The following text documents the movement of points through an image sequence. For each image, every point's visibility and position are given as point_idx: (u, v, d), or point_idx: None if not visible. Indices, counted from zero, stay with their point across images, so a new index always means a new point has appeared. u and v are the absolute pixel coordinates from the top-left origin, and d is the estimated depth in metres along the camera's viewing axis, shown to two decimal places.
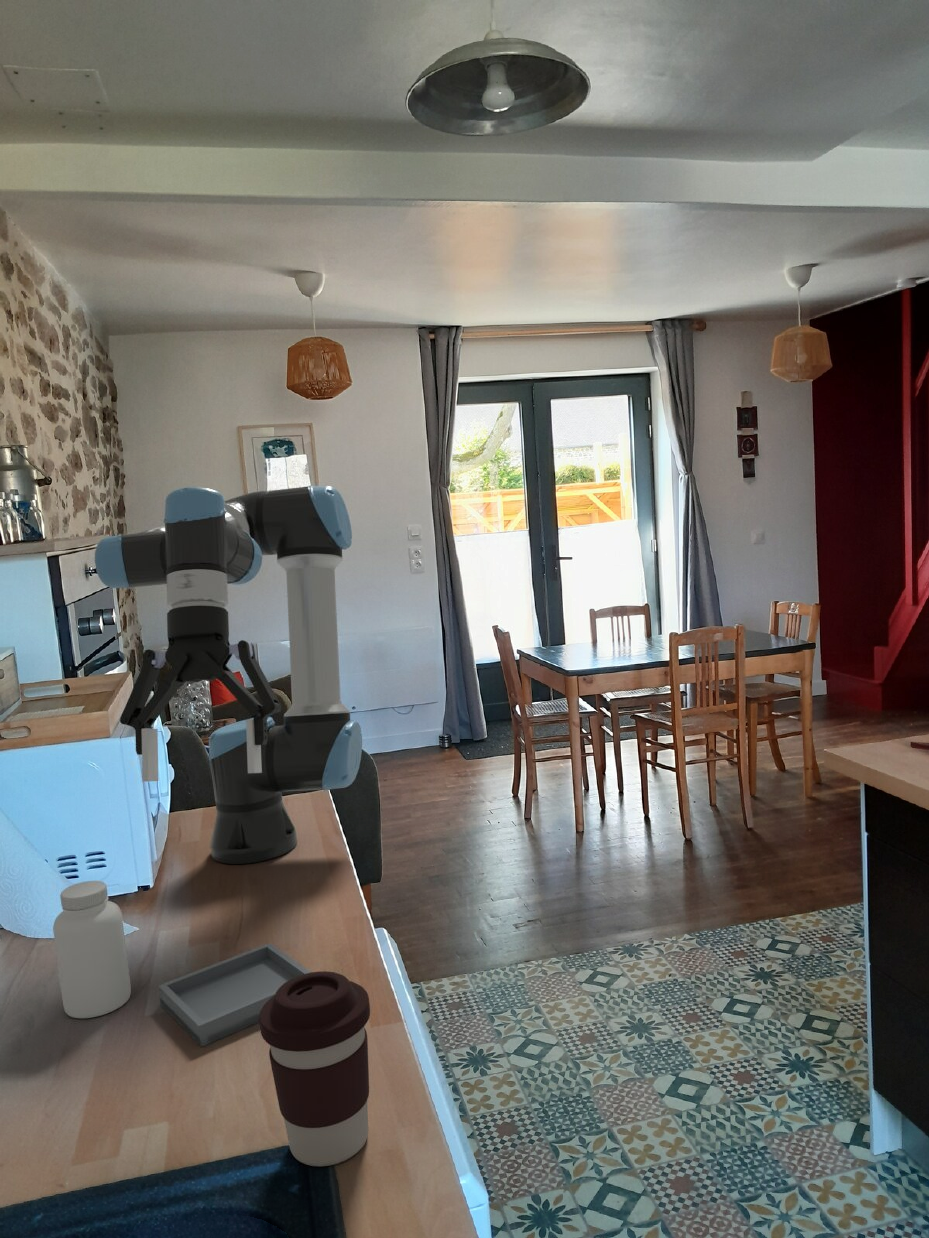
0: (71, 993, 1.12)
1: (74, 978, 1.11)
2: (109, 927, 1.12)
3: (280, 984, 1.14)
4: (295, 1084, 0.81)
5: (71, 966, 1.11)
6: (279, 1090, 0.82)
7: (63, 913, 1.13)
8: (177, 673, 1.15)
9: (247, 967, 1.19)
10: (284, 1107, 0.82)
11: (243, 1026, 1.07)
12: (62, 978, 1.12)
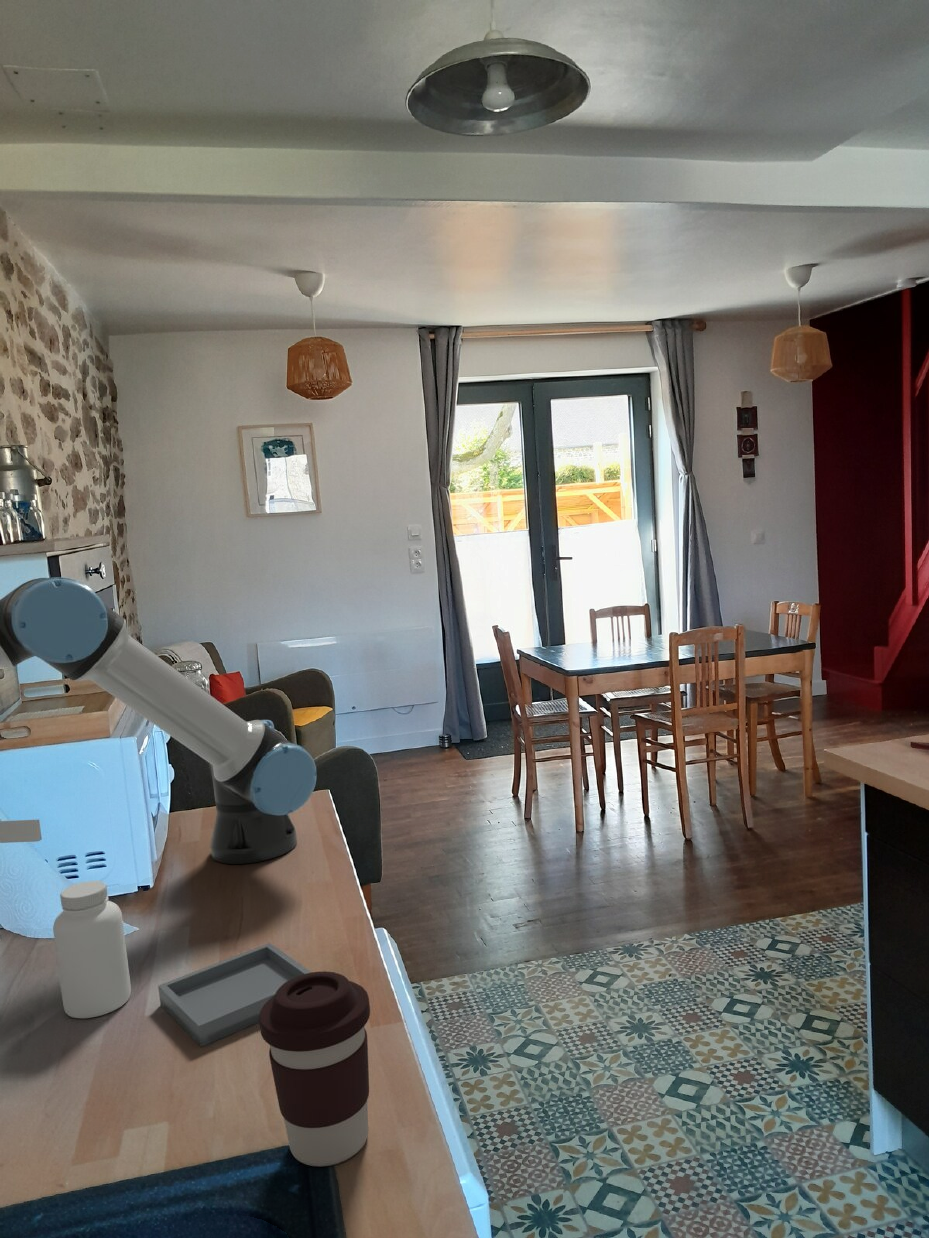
0: (71, 993, 1.12)
1: (74, 978, 1.11)
2: (109, 927, 1.12)
3: (280, 984, 1.14)
4: (295, 1084, 0.81)
5: (71, 966, 1.11)
6: (279, 1090, 0.82)
7: (63, 913, 1.13)
8: None
9: (247, 967, 1.19)
10: (284, 1107, 0.82)
11: (243, 1026, 1.07)
12: (62, 978, 1.12)
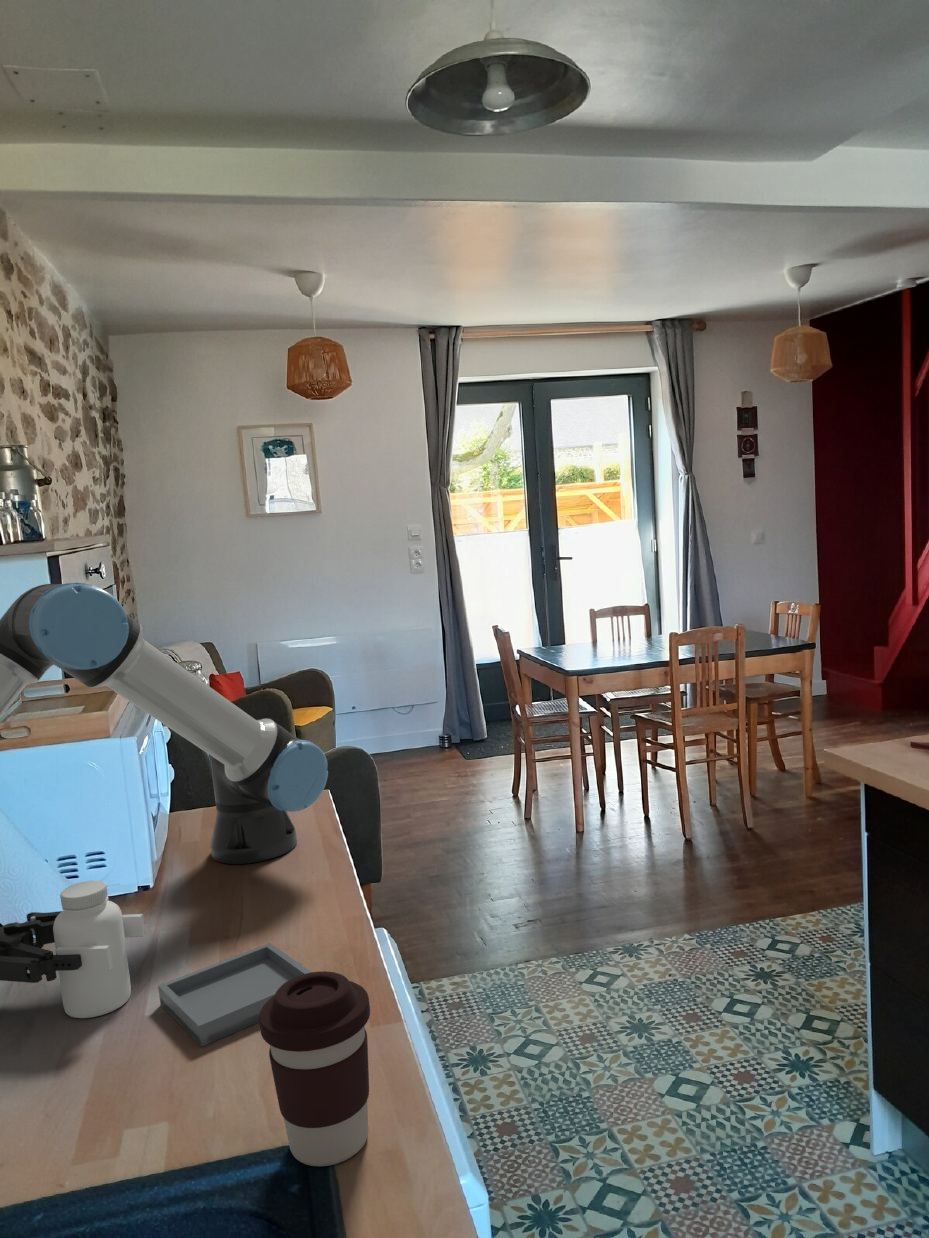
0: (71, 993, 1.12)
1: (74, 977, 1.11)
2: (109, 927, 1.12)
3: (280, 984, 1.14)
4: (295, 1084, 0.81)
5: None
6: (279, 1090, 0.82)
7: (63, 913, 1.13)
8: None
9: (247, 967, 1.19)
10: (284, 1107, 0.82)
11: (243, 1026, 1.07)
12: (62, 978, 1.12)
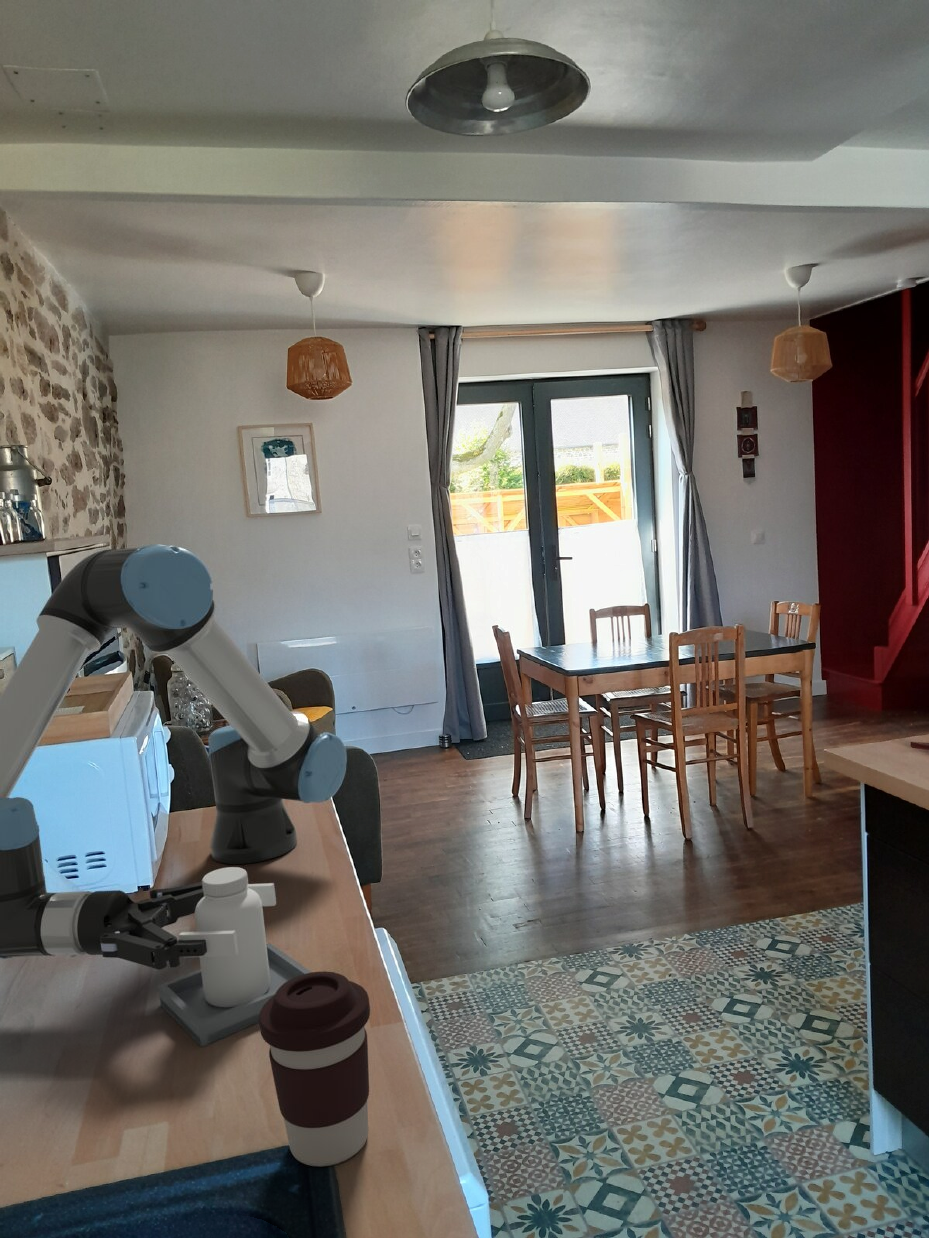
0: (215, 982, 1.09)
1: (219, 966, 1.09)
2: (252, 914, 1.10)
3: (280, 984, 1.14)
4: (295, 1084, 0.81)
5: None
6: (279, 1090, 0.82)
7: (204, 900, 1.11)
8: None
9: None
10: (284, 1107, 0.82)
11: (243, 1026, 1.07)
12: (205, 966, 1.10)
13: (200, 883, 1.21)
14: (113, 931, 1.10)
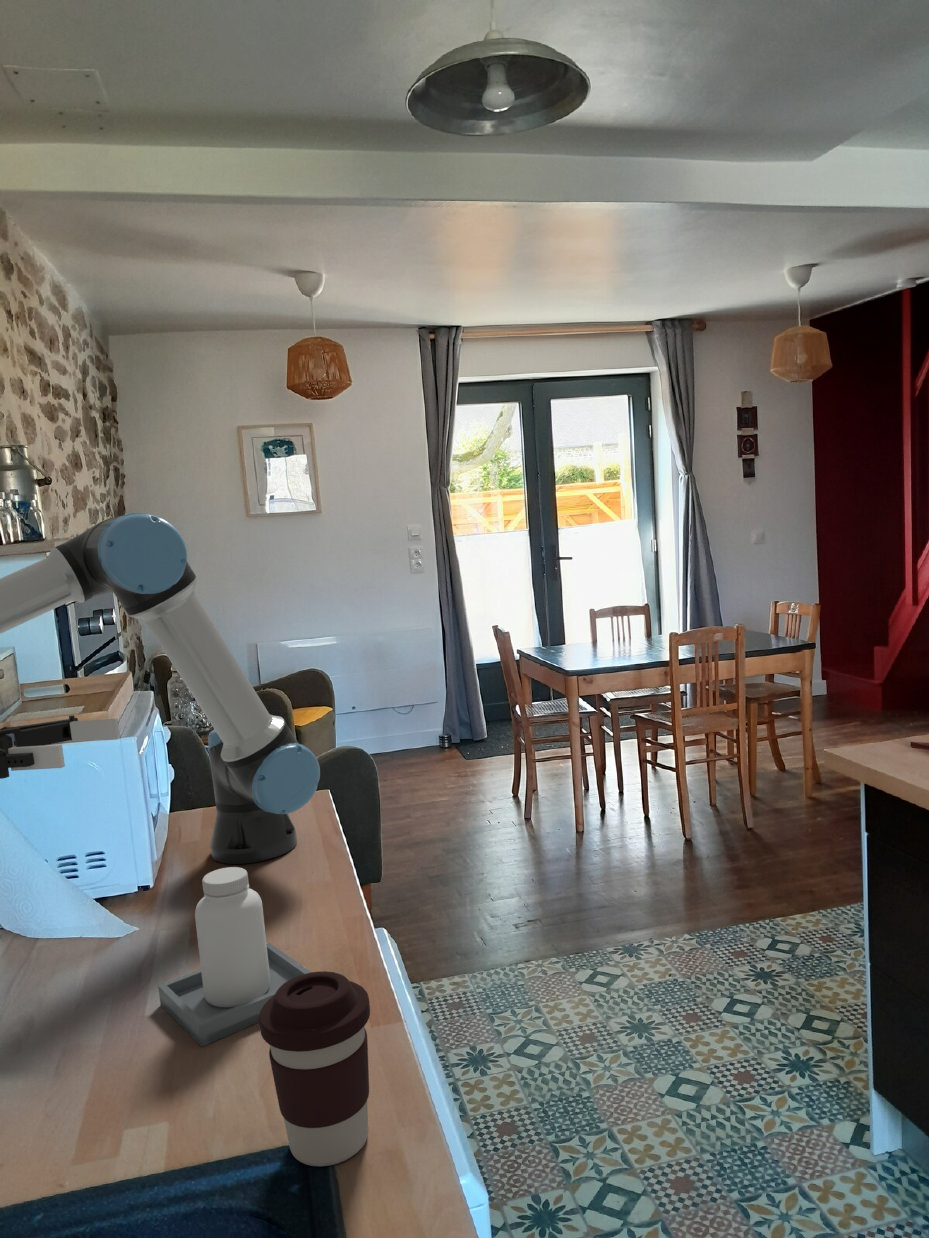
0: (215, 982, 1.09)
1: (219, 966, 1.09)
2: (253, 914, 1.10)
3: (280, 984, 1.14)
4: (295, 1084, 0.81)
5: (216, 954, 1.08)
6: (279, 1090, 0.82)
7: (205, 900, 1.11)
8: None
9: None
10: (284, 1107, 0.82)
11: (243, 1026, 1.07)
12: (205, 966, 1.10)
13: (50, 722, 1.27)
14: None
